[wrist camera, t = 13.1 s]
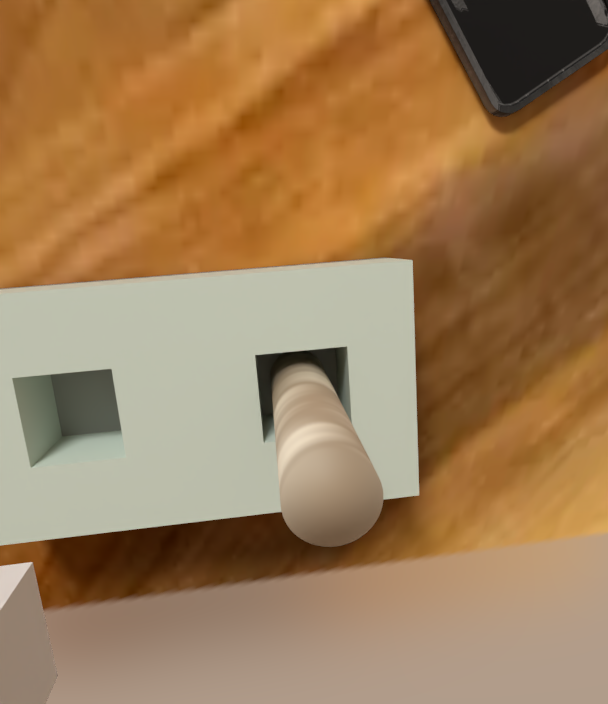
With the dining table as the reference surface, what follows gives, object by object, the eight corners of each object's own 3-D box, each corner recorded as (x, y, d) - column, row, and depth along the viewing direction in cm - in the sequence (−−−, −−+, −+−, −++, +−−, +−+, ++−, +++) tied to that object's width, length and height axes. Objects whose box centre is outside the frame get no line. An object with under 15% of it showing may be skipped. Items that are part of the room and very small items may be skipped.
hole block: (21, 497, 29) (-25, 548, 24) (-23, 290, 27) (-86, 300, 22) (393, 455, 31) (419, 495, 26) (385, 257, 28) (412, 260, 23)
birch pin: (273, 403, 28) (285, 553, 15) (267, 352, 28) (275, 458, 14) (325, 398, 29) (386, 539, 15) (321, 346, 28) (380, 446, 14)
